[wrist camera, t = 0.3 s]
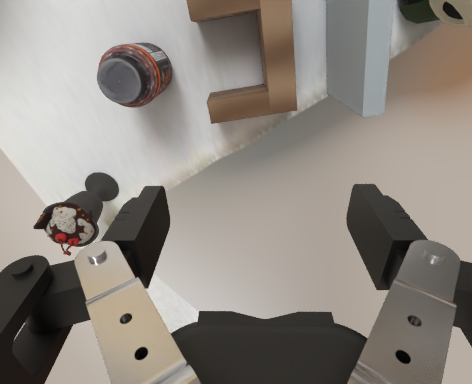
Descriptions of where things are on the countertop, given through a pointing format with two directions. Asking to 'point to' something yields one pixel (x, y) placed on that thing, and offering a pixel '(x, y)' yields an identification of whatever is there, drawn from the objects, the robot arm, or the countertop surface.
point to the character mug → (439, 11)
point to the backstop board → (358, 53)
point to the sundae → (78, 213)
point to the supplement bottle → (134, 73)
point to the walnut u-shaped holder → (272, 54)
